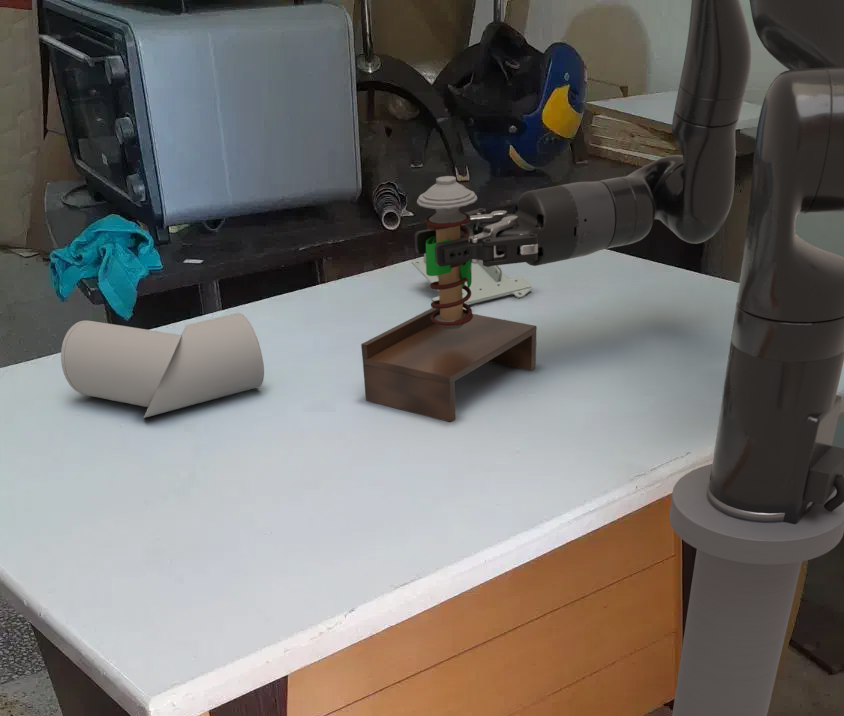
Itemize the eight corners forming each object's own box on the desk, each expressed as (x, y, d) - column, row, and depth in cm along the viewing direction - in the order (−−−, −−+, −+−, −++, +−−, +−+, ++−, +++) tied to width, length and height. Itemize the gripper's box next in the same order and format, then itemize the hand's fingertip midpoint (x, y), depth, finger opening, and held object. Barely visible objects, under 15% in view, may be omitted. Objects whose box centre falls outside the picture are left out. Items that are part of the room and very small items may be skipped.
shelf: (535, 368, 122) (537, 312, 118) (450, 422, 112) (448, 363, 107) (454, 350, 128) (452, 297, 124) (365, 400, 117) (360, 343, 113)
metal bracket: (396, 247, 143) (485, 228, 148) (393, 286, 148) (480, 266, 153) (448, 302, 136) (539, 280, 141) (443, 341, 141) (532, 318, 146)
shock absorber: (484, 332, 113) (481, 182, 103) (428, 338, 113) (420, 189, 103) (474, 313, 118) (470, 168, 108) (420, 319, 118) (411, 174, 108)
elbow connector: (108, 436, 110) (274, 390, 117) (76, 334, 105) (252, 293, 112) (71, 419, 124) (222, 379, 131) (41, 328, 119) (200, 292, 126)
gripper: (534, 173, 116) (397, 197, 112) (599, 199, 106) (452, 226, 102) (533, 243, 121) (402, 269, 117) (595, 274, 111) (455, 304, 107)
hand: (426, 249), depth 109 cm, fingers closed on shock absorber, 4 cm apart
